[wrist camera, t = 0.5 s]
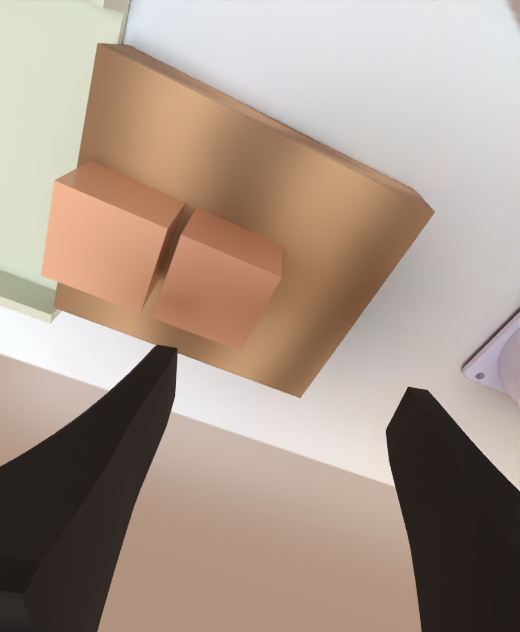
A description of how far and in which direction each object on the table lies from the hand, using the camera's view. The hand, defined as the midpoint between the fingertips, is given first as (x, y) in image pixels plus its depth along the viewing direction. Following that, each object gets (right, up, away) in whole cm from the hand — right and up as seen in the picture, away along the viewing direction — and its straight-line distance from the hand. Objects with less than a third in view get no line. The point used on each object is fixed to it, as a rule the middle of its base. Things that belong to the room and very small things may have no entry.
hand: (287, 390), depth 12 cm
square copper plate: (-2, +6, +8) cm, 11 cm away
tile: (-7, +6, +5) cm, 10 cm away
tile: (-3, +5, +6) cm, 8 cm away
